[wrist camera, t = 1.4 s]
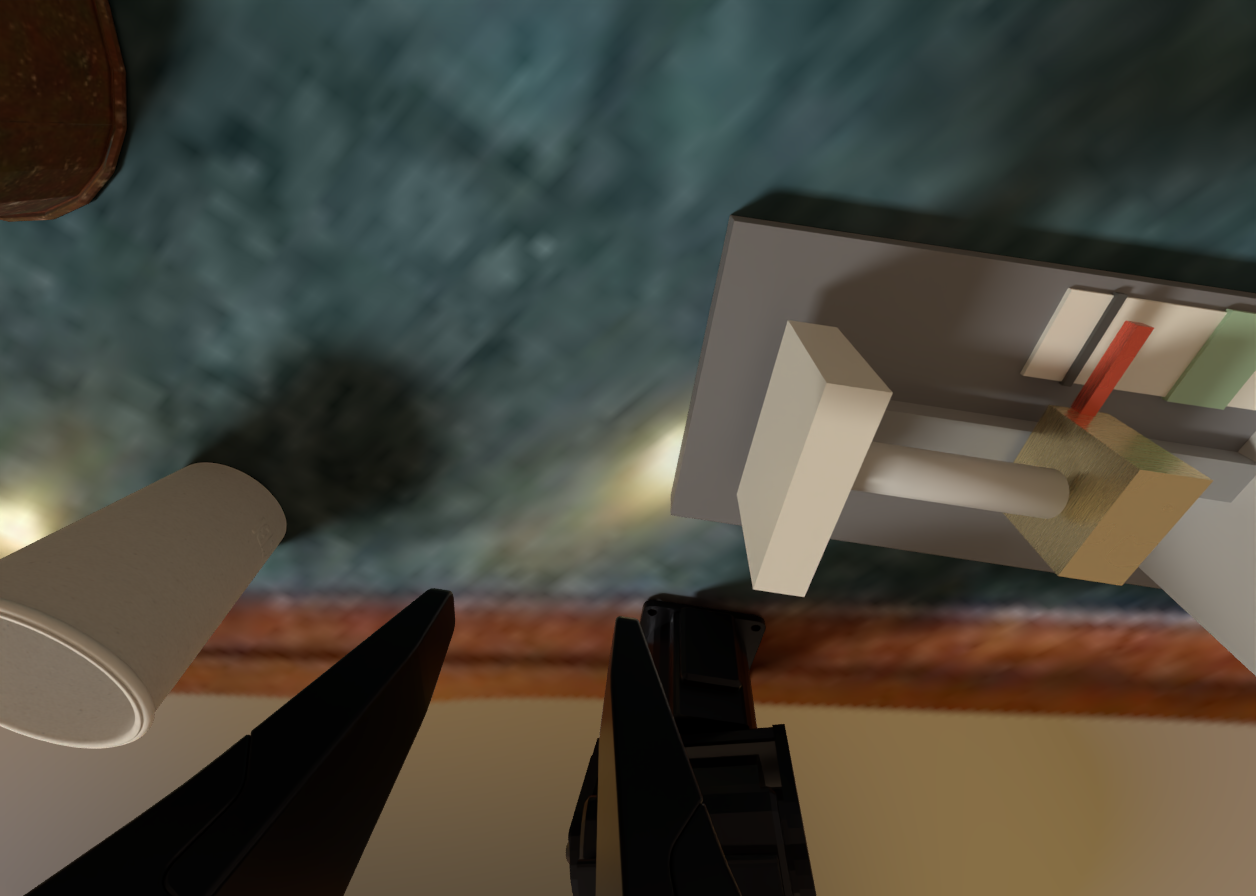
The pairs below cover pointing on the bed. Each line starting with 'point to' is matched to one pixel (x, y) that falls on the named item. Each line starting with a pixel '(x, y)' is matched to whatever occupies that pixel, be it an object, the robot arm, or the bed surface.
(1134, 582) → the base
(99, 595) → the dixie cup
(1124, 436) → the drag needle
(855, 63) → the bed surface
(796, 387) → the plunger
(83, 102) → the oil lamp
